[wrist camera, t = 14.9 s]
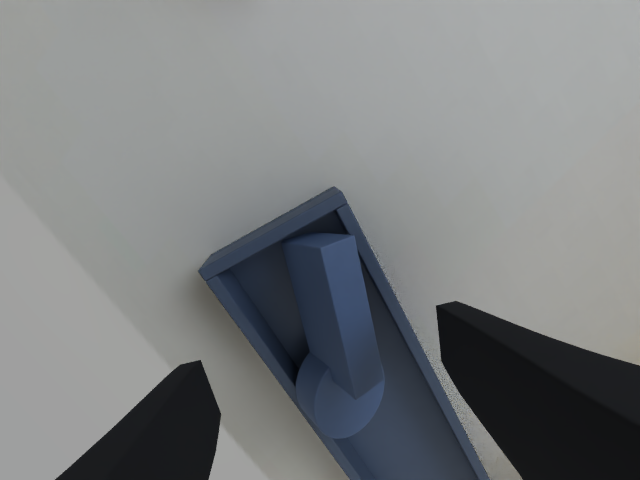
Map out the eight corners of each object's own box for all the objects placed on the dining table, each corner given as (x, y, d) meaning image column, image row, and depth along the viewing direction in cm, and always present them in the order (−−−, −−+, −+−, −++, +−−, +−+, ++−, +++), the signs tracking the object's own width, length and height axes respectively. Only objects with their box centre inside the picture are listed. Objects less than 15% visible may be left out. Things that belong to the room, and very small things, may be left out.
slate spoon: (254, 250, 11) (288, 259, 9) (331, 224, 13) (379, 225, 10) (306, 433, 13) (347, 486, 10) (368, 388, 15) (416, 424, 12)
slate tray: (210, 254, 13) (196, 271, 11) (334, 185, 12) (341, 190, 10) (428, 564, 20) (442, 606, 18) (510, 525, 19) (533, 564, 17)
